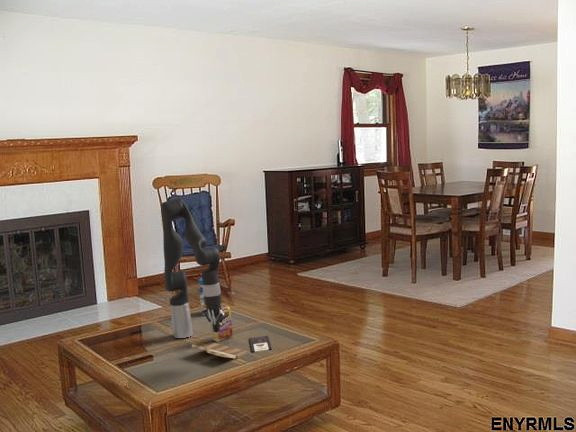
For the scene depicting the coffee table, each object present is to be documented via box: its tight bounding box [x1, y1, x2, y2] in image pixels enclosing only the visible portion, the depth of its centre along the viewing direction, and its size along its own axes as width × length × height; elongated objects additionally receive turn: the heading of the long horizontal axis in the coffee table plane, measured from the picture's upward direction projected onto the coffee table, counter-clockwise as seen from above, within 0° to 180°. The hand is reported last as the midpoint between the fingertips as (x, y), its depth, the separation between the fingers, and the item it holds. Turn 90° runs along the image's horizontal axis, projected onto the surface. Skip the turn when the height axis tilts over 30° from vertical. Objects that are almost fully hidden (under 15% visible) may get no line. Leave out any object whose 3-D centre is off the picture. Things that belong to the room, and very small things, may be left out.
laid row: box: [204, 342, 248, 360], centre depth 269 cm, size 22×6×1 cm, turn 49°
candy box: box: [211, 305, 234, 343], centre depth 286 cm, size 9×4×15 cm, turn 123°
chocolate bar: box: [249, 335, 272, 353], centre depth 275 cm, size 9×1×18 cm
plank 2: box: [206, 350, 236, 359], centre depth 260 cm, size 10×8×1 cm
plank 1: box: [191, 344, 217, 352], centre depth 267 cm, size 10×8×1 cm
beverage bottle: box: [198, 277, 206, 316], centre depth 330 cm, size 8×8×20 cm
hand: (216, 331), depth 258 cm, fingers closed
